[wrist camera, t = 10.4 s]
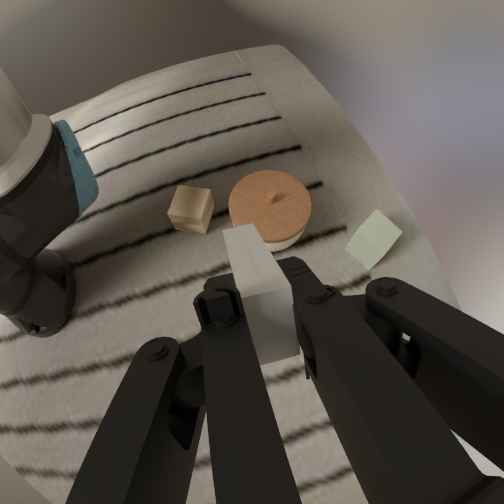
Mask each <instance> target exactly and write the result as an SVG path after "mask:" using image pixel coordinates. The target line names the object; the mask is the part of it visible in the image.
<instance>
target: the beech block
mask: <svg viewBox="0 0 504 504" xmlns="http://www.w3.org/2000/svg"><path fill="white" fill-rule="evenodd" d="M213 210H214V203H213V198H212V194H211V190H210V189H206V188H199V187H191V186H183V185H178V187H177V189H176V192H175V194H174V197H173V200H172V202H171V205H170V208H169V210H168V213H167V214H168V216H169V218H170V220H171V222H172V224H173V226H174V227H175V229H176V230H181V231H187V232H193V233H199V234H205V235H206V234H207V230H208V227H209V223H210V220H211V217H212V213H213Z"/></svg>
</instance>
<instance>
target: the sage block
mask: <svg viewBox="0 0 504 504" xmlns="http://www.w3.org/2000/svg"><path fill="white" fill-rule="evenodd" d="M401 233H402V231H401V230H400V229H399V228H398V227H396V226H395V225H394V224H393V223H392V222H391V221H390V220H389V219H388V218H386V217H385V216H384V215H383V214H382V213H381V212H380V211H379V210H377V209H376V210H375V211H374V212H373V213H372V214H371V215H370V216H369V218H368V219H367V220H366V221H365V222H364V223H363V224H362V225H361V226H360V227H359V228H358V229H357V231H356V232H355V234H354V235H353V237H352V239H351V240H350V242H349V243H348V245H347V246H346V249H347V250H348V251H349V252H350V253H351V254H352V255H354V256H355V257H356V258H357V259H358V260H359V261H360V262H361V263H362V264H363V265H364V266H365V267H366V268H367V269H369V270H370V269H371V268H372V267H373V266H374V265H375V264H376V263H377V262H378V261H379V260H380V259H381V258H382V257H383V256H384V255H385V254H386V253H387V251H388V250H389V249H390V248H391V246H392V245H393V244H394V242H395V241H396V240H397V239H398V237H399V236H400V235H401Z"/></svg>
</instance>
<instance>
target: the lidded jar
mask: <svg viewBox="0 0 504 504" xmlns="http://www.w3.org/2000/svg"><path fill="white" fill-rule="evenodd" d="M228 204H229V213H230V217H231V219H232V223H233V226H234V227H238V226H243V225H247V224H251V223H253V225H254V226H255V228H256V230H257V231H258V233H259V234H260V236H261V238H262V239H263V241H264V242H265V244H266V246H267V247H268V249H269V251H270V252H276V251H280V250H283V249H286V248H287V247H289V246H291V245H292V244H293V243H295V242H296V241H297V240H298V238H299V237H300V236H301V235H302V233H303V231H304V230H305V228H306V225H307V223H308V221H309V219H310V216H311V212H312V201H311V197H310V194H309V192H308V190H307V189H306V187H305V186H304V185H303V184H302V183H301V182H300V181H299V180H298V179H297V178H295V177H294V176H292V175H290V174H288V173H285V172H282V171H277V170H261V171H257V172H254V173H251V174H249V175H247V176H245V177H244V178H242V179H241V180H240V181H239V182H238V183H237V184H236V185H235V186H234V188H233V189H232V191H231V194H230V197H229V203H228Z"/></svg>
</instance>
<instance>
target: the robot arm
mask: <svg viewBox="0 0 504 504" xmlns="http://www.w3.org/2000/svg"><path fill="white" fill-rule="evenodd" d="M98 193H99V187H98V184H97V181H96V178H95V176H94V174H93V172H92V170H91V167H90V165H89V163H88V161H87V159H86V157H85V155H84V154H83V152H82V151H81V148H80V146H79V144H78V141H77V139H76V137H75V135H74V134H73V132H72V130H71V128H70V126H69V125H68V123H67V122H66V121H65V120H60V121H57V122H55V123H54V124H53V123H52V121H51V120H50V118H49V117H48V116H46V115H44V114H32V115H31V114H30V113H29V112H28V110H27V109H26V107H25V105H24V104H23V103H22V101H21V99H20V98H19V96H18V95H17V93H16V91H15V90H14V88H13V87H12V85H11V83H10V82H9V80H8V78H7V77H6V75H5V73H4V72H3V70H2V68H1V66H0V314H2V315H5V316H6V317H7V318H8V319H9V320H10V321H11V322H12V323H13V324H15V325H16V326H17V327H18V328H19V329H20V330H21V331H23V332H24V333H26V334H28V335H32V336H35V337H40V338H43V337H48V336H51V335H53V334H54V333H56V332H57V331H58V330H59V329H60V328H61V327H62V326H63V325H64V324H65V322H66V321H67V319H68V317H69V315H70V313H71V310H72V307H73V304H74V299H75V291H76V284H75V277H74V273H73V270H72V268H71V266H70V264H69V263H68V261H67V260H66V259H65V258H64V257H62V256H61V255H60V254H58V253H57V252H55V251H53V250H50V249H45V247H46V246H47V245H48V244H49V243H50V242H51V241H53V240H54V239H55V238H56V237H57V236H58V235H59V234H60V233H61V232H62V231H64V230H65V229H66V228H67V227H68V226H69V225H70V224H72V223H73V222H74V221H75V220H76V219H77V218H79V217H81V215H82V213H83V212H84V211H85V210H86V209H87V208H88V207H89V206H90V205H91V204H92V203H94V202H95V200H96V199H97V196H98ZM222 231H223V235H224V239H225V243H226V247H227V251H228V255H229V260H230V264H231V268H232V272H233V273H229V274H224V275H220V276H216V277H212V278H208V280H207V281H206V283H205V284H204V291H203V292H201V293H199V294H198V295H197V296H196V297H195V299H194V302H193V305H194V308H195V310H196V313H197V316H198V319H199V322H200V325H201V332H200V333H199V334H198V335H196V336H195V337H193V338H192V339H190V340H188V341H185V342H183V343H181V344H178V342H177V340H175V339H173V338H171V337H159V338H155V339H152V340H150V341H148V342H146V343H145V344H144V345H142V346H141V347H140V349H139V350H138V351H137V353H136V355H135V357H134V358H133V360H132V362H131V364H130V366H129V368H128V370H127V372H126V374H125V376H124V378H123V380H122V382H121V383H120V385H119V387H118V389H117V391H116V393H115V395H114V397H113V399H112V401H111V403H110V405H109V407H108V409H107V412H106V414H105V416H104V418H103V420H102V422H101V424H100V426H99V428H98V430H97V432H96V435H95V437H94V439H93V441H92V443H91V445H90V447H89V450H88V452H87V454H86V456H85V458H84V461H83V463H82V465H81V468H80V470H79V472H78V474H77V477H76V479H75V481H74V484H73V486H72V489H71V491H70V493H69V496H68V498H67V501H66V503H65V504H186V500H187V495H188V490H189V486H190V481H191V476H192V472H193V467H194V463H195V458H196V453H197V449H198V444H199V440H200V435H201V431H202V426H203V422H204V417H205V413H207V424H208V435H209V445H210V455H211V464H212V473H213V481H214V489H215V496H216V504H302V502H301V499H300V496H299V493H298V490H297V487H296V483H295V480H294V477H293V474H292V471H291V468H290V465H289V461H288V458H287V455H286V452H285V449H284V445H283V442H282V439H281V436H280V432H279V429H278V426H277V422H276V419H275V416H274V412H273V409H272V406H271V402H270V399H269V396H268V392H267V389H266V385H265V382H264V378H263V375H262V372H261V368H260V365H263V364H267V363H271V362H275V361H278V360H282V359H285V358H289V357H292V356H296V355H299V354H300V347H301V349H302V351H303V354H304V362H305V371H306V379H310V377H311V379H312V381H313V383H314V385H315V387H316V390H317V392H318V394H319V396H320V398H321V400H322V403H323V405H324V407H325V409H326V411H327V414H328V416H329V418H330V420H331V422H332V424H333V427H334V429H335V431H336V433H337V435H338V438H339V440H340V442H341V444H342V446H343V448H344V451H345V453H346V455H347V457H348V459H349V462H350V464H351V466H352V468H353V470H354V472H355V475H356V477H357V479H358V481H359V483H360V486H361V488H362V490H363V492H364V494H365V496H366V499H367V501H368V503H369V504H504V478H502V477H500V476H486V475H485V474H483V473H482V472H481V471H480V470H479V469H478V468H477V466H476V465H475V463H474V462H473V461H472V459H471V458H470V457H469V455H468V453H467V452H466V451H465V449H464V448H463V446H462V445H461V444H460V442H459V441H458V439H457V438H456V437H455V435H454V434H453V433H452V431H453V432H455V433H456V434H457V435H458V436H460V437H461V438H462V439H463V440H465V441H466V442H467V443H468V444H470V445H471V446H472V447H473V448H475V449H476V450H477V451H478V452H480V453H481V454H482V455H484V456H485V457H486V458H487V459H489V460H490V461H491V462H492V463H494V464H495V465H496V466H497V467H499V468H500V469H501V470H502V471H504V335H503V334H502V333H500V332H498V331H496V330H494V329H493V328H491V327H489V326H487V325H485V324H484V323H482V322H480V321H478V320H476V319H475V318H473V317H471V316H469V315H467V314H465V313H463V312H462V311H460V310H458V309H456V308H454V307H452V306H450V305H448V304H447V303H445V302H443V301H441V300H439V299H437V298H435V297H433V296H431V295H429V294H427V293H425V292H423V291H421V290H419V289H417V288H416V287H414V286H412V285H410V284H408V283H406V282H404V281H402V280H399V279H396V278H390V277H382V278H378V279H375V280H372V281H371V282H370V283H368V284H367V286H366V294H362V295H352V296H343V295H342V294H341V293H340V291H339V290H338V289H336V288H335V287H333V286H329V285H323V284H322V283H321V281H320V280H319V279H318V278H317V277H316V275H315V274H314V273H313V272H312V271H311V269H310V268H309V267H308V266H307V264H306V263H305V262H304V261H303V260H302V259H299V258H297V257H295V256H293V257H289V258H285V259H281V260H277V261H276V260H275V259H274V257H273V255H272V254H271V252H270V251H269V249H268V247H267V246H266V244H265V242H264V241H263V239H262V238H261V236H260V234H259V233H258V231H257V230H256V228H255V226H254V225H253V223H251V224H247V225H243V226H238V227H234V228H230V229H226V230H222ZM403 333H405V334H407V335H408V336H410V341H408V340H405V339H404V338H402V337H403ZM299 344H300V347H299ZM309 374H310V375H309ZM449 428H450V429H451V430H452V431H451V430H450V429H449Z"/></svg>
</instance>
